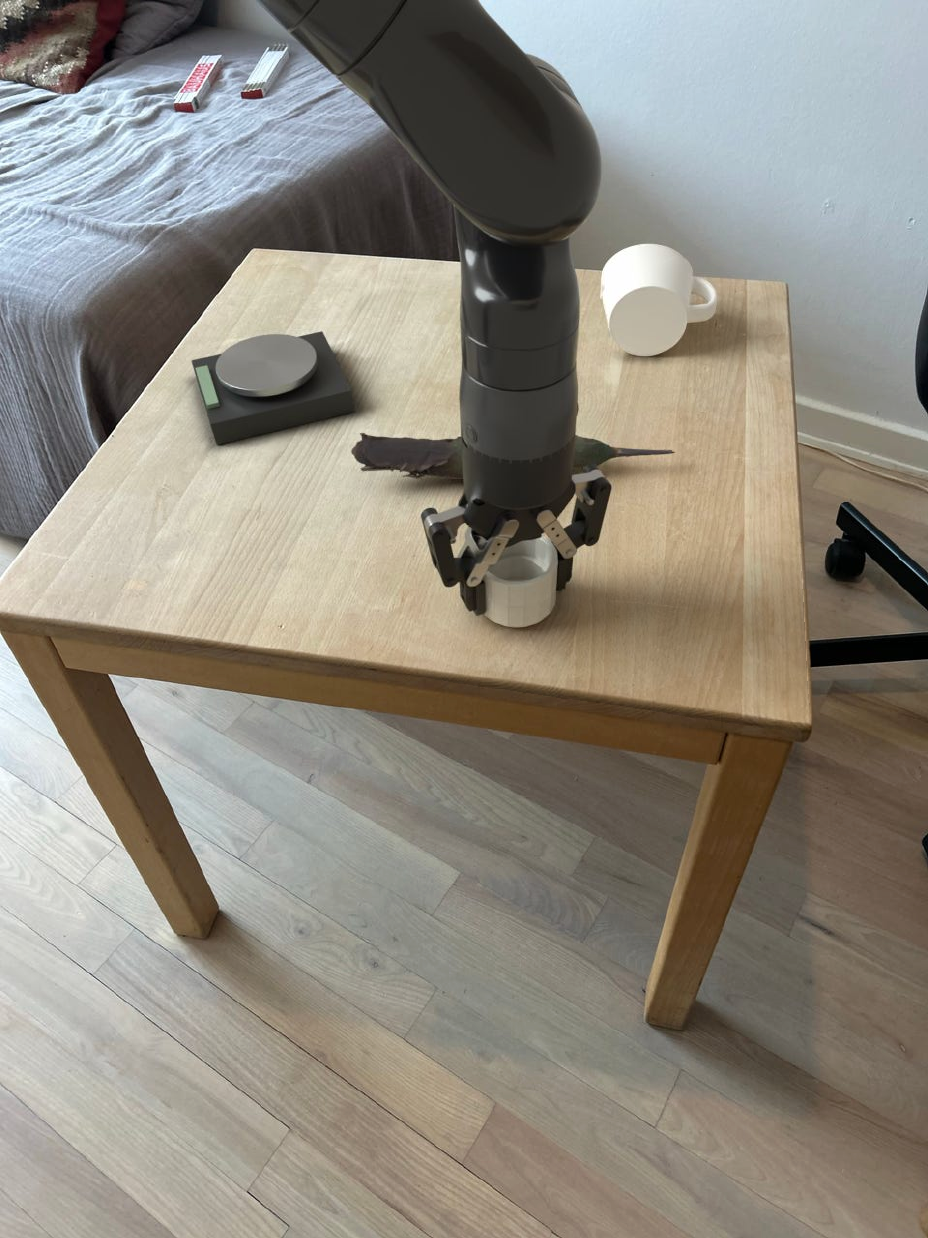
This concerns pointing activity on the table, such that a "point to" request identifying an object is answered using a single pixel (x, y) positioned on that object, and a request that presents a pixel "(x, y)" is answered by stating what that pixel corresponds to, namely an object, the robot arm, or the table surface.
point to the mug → (652, 298)
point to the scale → (274, 398)
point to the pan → (266, 365)
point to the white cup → (522, 583)
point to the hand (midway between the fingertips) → (516, 595)
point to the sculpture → (460, 455)
